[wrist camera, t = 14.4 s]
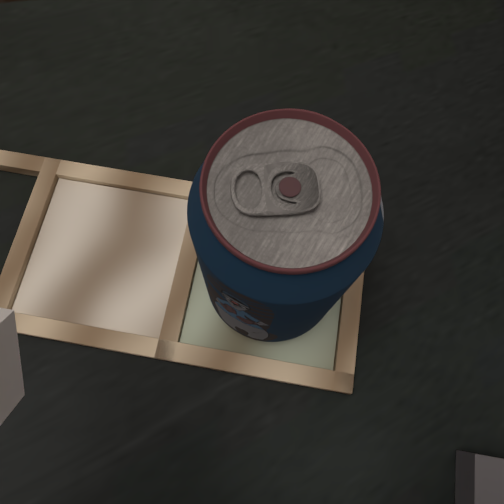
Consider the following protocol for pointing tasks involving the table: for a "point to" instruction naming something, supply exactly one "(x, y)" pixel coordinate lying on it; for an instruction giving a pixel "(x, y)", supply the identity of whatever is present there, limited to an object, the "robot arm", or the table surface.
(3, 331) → the robot arm
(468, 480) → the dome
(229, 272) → the soda can
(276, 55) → the table surface
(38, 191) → the tan flat wooden frame
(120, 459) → the table surface
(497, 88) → the table surface
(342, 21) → the table surface
